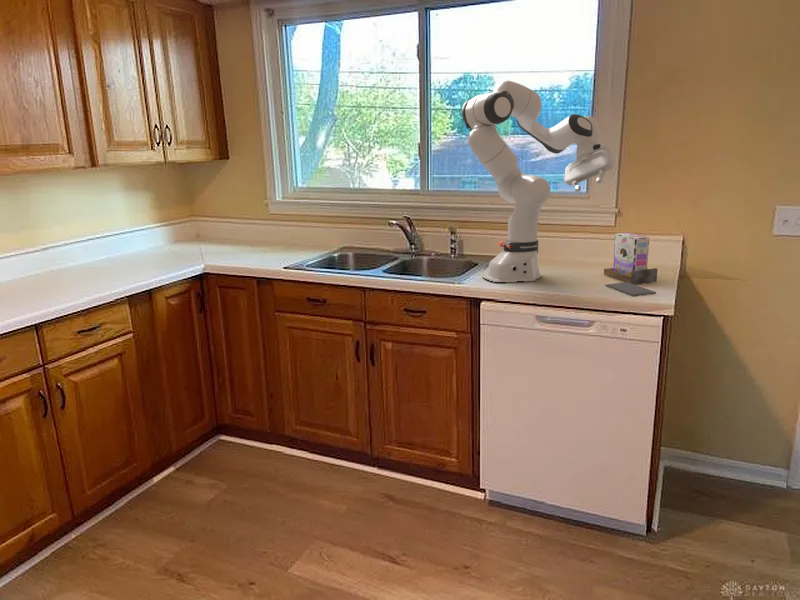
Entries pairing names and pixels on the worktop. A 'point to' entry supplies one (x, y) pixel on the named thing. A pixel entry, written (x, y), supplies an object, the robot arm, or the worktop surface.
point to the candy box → (630, 253)
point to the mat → (630, 289)
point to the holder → (634, 276)
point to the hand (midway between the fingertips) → (588, 186)
